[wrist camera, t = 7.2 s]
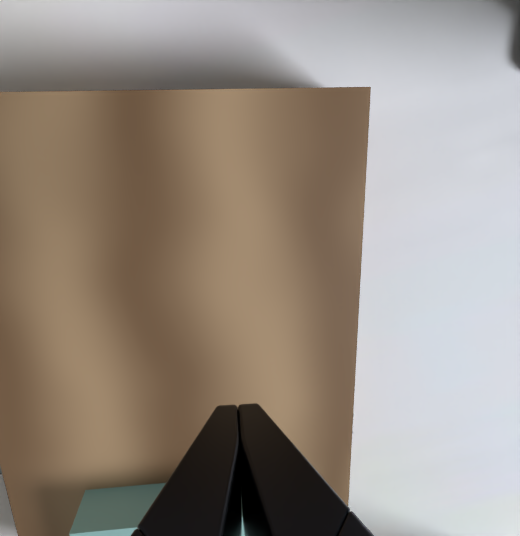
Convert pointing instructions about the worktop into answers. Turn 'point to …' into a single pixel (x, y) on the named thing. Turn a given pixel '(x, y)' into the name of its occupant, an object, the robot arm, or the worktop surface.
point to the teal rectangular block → (115, 510)
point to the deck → (173, 281)
